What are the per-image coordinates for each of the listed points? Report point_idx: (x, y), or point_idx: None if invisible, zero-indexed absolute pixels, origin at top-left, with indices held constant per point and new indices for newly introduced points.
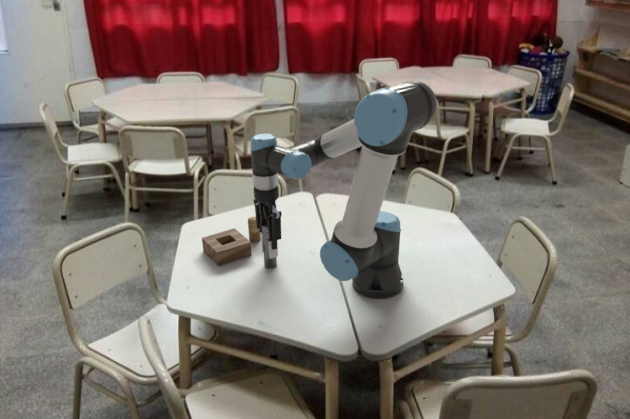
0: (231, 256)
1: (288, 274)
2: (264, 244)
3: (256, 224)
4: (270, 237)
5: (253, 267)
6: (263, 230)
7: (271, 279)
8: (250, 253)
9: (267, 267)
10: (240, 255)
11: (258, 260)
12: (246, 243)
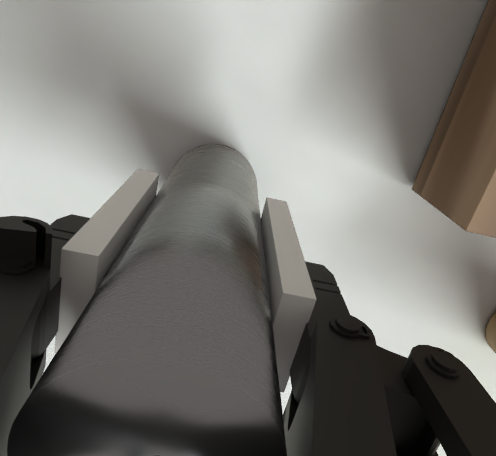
0: None
1: (45, 189)
2: (190, 207)
3: (489, 396)
4: (3, 280)
5: (288, 88)
6: (156, 323)
7: (64, 64)
8: (422, 186)
9: (197, 147)
10: (462, 105)
11: (329, 177)
12: (485, 188)
